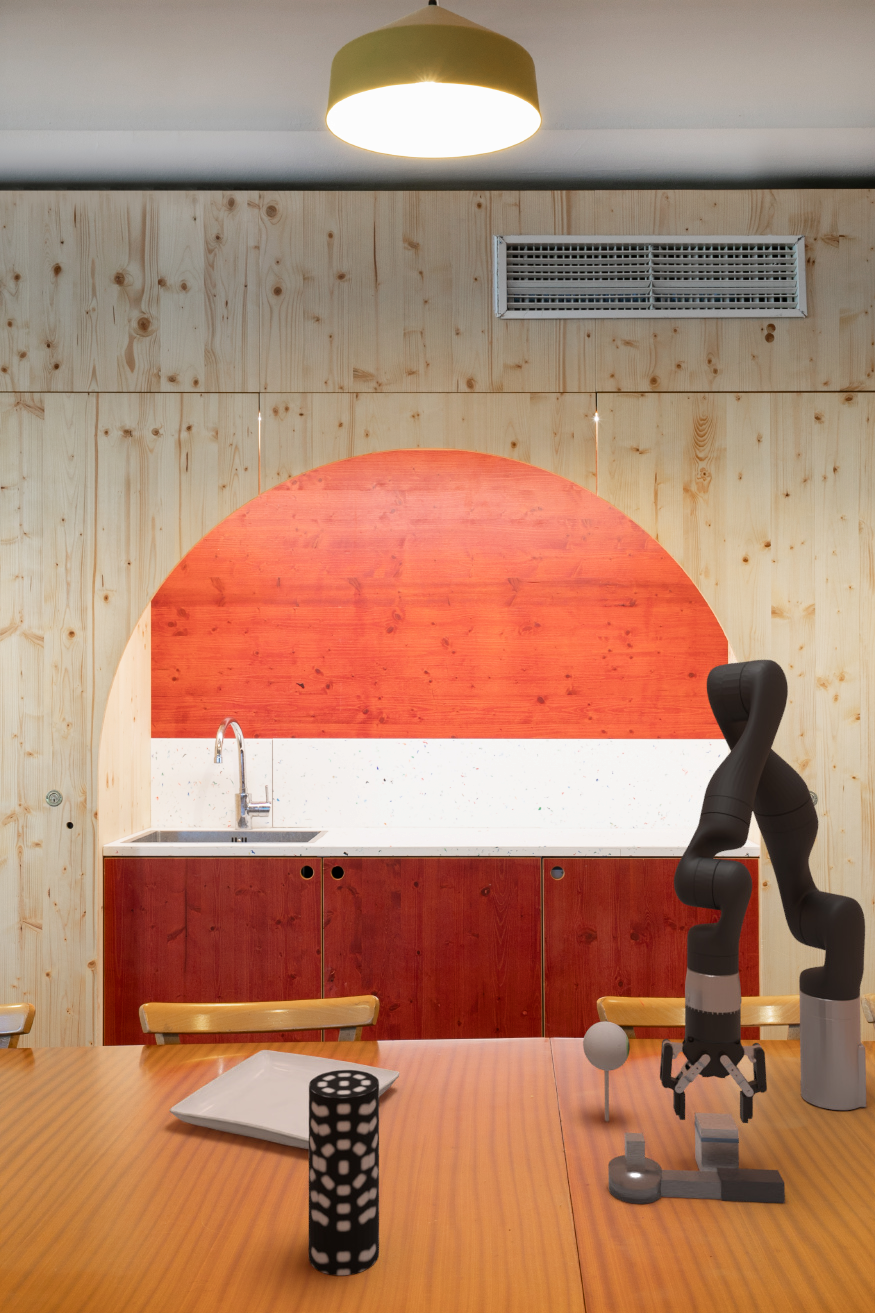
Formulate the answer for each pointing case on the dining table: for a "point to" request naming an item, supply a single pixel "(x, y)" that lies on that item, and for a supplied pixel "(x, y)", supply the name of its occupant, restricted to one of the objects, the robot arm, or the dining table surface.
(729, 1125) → the silver block
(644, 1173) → the ratchet
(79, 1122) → the dining table surface
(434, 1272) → the dining table surface
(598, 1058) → the lollipop
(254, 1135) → the square plate
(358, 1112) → the spotted tube
